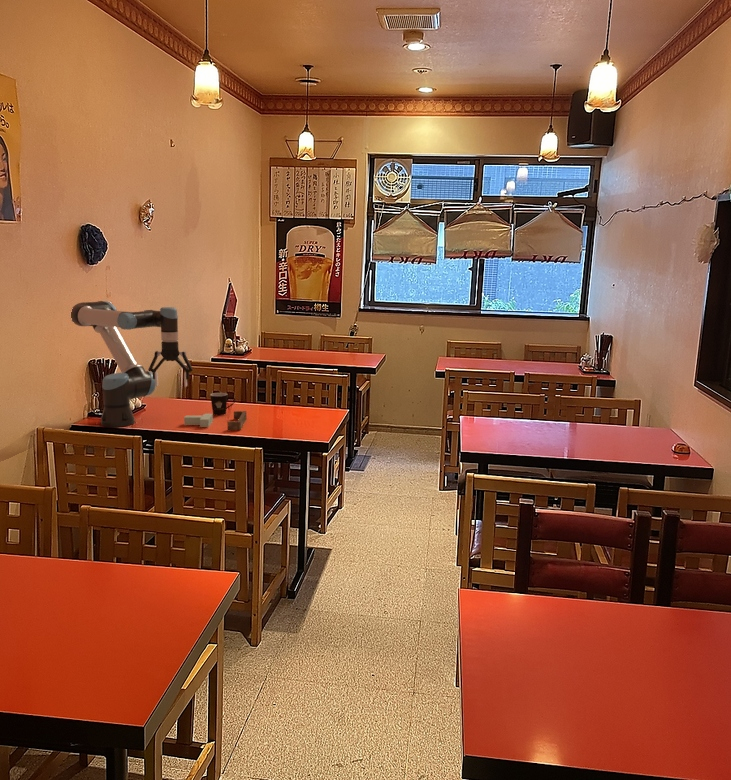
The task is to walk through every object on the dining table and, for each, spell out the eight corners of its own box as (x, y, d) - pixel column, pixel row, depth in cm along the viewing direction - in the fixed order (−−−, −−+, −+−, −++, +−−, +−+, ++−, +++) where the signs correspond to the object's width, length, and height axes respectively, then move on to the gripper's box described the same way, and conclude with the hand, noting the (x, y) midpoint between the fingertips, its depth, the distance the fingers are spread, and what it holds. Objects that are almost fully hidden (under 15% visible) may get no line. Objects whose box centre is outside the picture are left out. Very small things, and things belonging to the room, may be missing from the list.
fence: (227, 430, 320) (227, 422, 320) (234, 419, 342) (234, 411, 342) (240, 430, 321) (240, 422, 320) (246, 419, 343) (246, 411, 342)
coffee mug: (207, 414, 350) (207, 395, 348) (216, 411, 358) (215, 392, 356) (228, 416, 347) (227, 397, 345) (236, 413, 355) (236, 393, 353)
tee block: (182, 427, 324) (182, 419, 324) (187, 421, 336) (187, 413, 335) (208, 427, 325) (208, 419, 324) (212, 421, 337) (212, 413, 336)
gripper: (140, 341, 318) (142, 387, 322) (195, 342, 320) (196, 387, 324) (144, 339, 325) (146, 384, 330) (198, 340, 327) (199, 384, 331)
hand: (171, 386), depth 327 cm, fingers open, 13 cm apart
